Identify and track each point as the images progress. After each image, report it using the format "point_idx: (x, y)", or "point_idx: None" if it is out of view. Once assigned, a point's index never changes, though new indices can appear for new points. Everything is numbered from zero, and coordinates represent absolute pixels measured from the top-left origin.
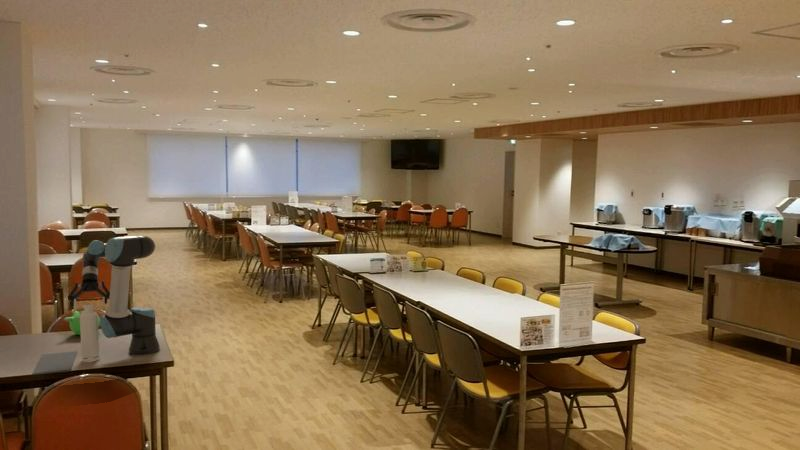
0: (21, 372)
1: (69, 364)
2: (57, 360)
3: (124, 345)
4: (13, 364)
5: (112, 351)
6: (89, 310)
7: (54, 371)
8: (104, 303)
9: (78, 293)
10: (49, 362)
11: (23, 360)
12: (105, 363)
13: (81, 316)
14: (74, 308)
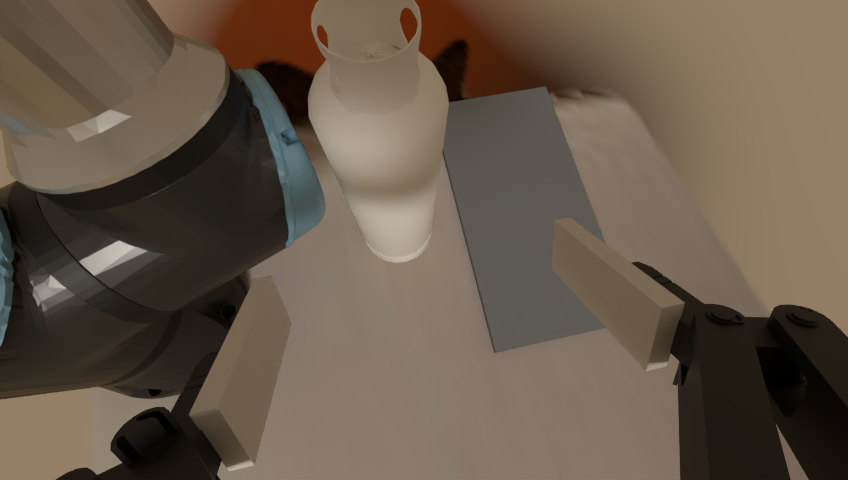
0: (597, 125)
1: (455, 159)
2: (524, 218)
3: (285, 453)
4: (683, 222)
5: (329, 342)
6: (353, 25)
7: (481, 97)
8: (239, 311)
9: (724, 420)
10: (544, 197)
11: (676, 270)
12: (328, 169)
13: (423, 55)
14: (567, 223)
